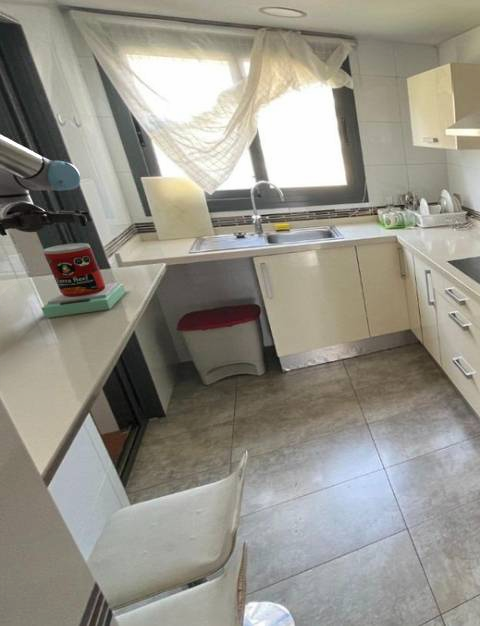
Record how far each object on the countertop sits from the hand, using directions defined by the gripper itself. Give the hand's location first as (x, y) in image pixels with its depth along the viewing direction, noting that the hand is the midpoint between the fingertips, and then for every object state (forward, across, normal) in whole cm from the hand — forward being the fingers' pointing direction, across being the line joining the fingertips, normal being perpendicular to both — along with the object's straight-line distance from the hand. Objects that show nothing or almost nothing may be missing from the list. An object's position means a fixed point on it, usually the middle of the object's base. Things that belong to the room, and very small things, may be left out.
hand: (44, 225), depth 110 cm
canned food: (+12, -1, -15) cm, 19 cm away
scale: (+12, 0, -18) cm, 22 cm away
